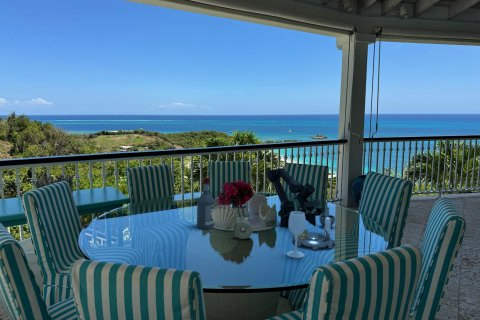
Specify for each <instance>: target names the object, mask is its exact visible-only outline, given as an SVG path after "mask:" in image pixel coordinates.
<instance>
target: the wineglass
mask: <svg viewBox="0 0 480 320" xmlns="http://www.w3.org/2000/svg"><path fill="white" fill-rule="evenodd" d="M306 221H307V220H305V214H304V213H303V212H299V211H297V210H295V211H293V212H291V213H290V217H289V224H288V225H289V227H288V230H289V231H290V233H291V234H292V235H294V236H295V245H294V249H293V250H291V251H287V252H286V255H287V256H288V257H290V258H294V259H300V258H304V257H305V254H304V253H303V252H301V251H299V250H298V247H297V238H298V235H300V234H302V233H303V232H304V230H305V229H306Z"/></svg>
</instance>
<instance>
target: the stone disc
mask: <svg viewBox="0 0 480 320" xmlns="http://www.w3.org/2000/svg"><path fill="white" fill-rule="evenodd" d="M242 228H244V229H245V230H242ZM253 232H254V230H253V226H252V224H251V222H249V221H248V220H245V219H244V220H243V219H241V220H238V221H236V222H235V223H234V226H233V233H234V236H236V238H238V239H241V240H243V239H244V240H245V239H249V238H250V237H251V236H252V234H253Z"/></svg>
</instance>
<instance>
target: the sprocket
mask: <svg viewBox="0 0 480 320" xmlns="http://www.w3.org/2000/svg"><path fill="white" fill-rule="evenodd" d="M330 226H331V218H329V217H325V228H323V229H324V230H323V231H324V232H323V233H324V234H321V233H320V234H318V233H315V232H309V233H308V232H307V237H305V238H301V237H298V238H297V246H300V247H301V246H303V247H307V248H312V249H322V248H328V249H329V248H332V244H335V245H336V240H335V239H333V238H331V229H330ZM292 241H293V242H295V235H294V236H293V237H291V242H292ZM300 247H299V248H300ZM332 249H333V248H332ZM329 250H330V249H329Z"/></svg>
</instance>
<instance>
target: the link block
mask: <svg viewBox="0 0 480 320" xmlns="http://www.w3.org/2000/svg"><path fill="white" fill-rule="evenodd" d="M307 233H308V229H306V228H305V230H304V232H303V233H302V234H300V235H298V237H301V238H305V237H307Z"/></svg>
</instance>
